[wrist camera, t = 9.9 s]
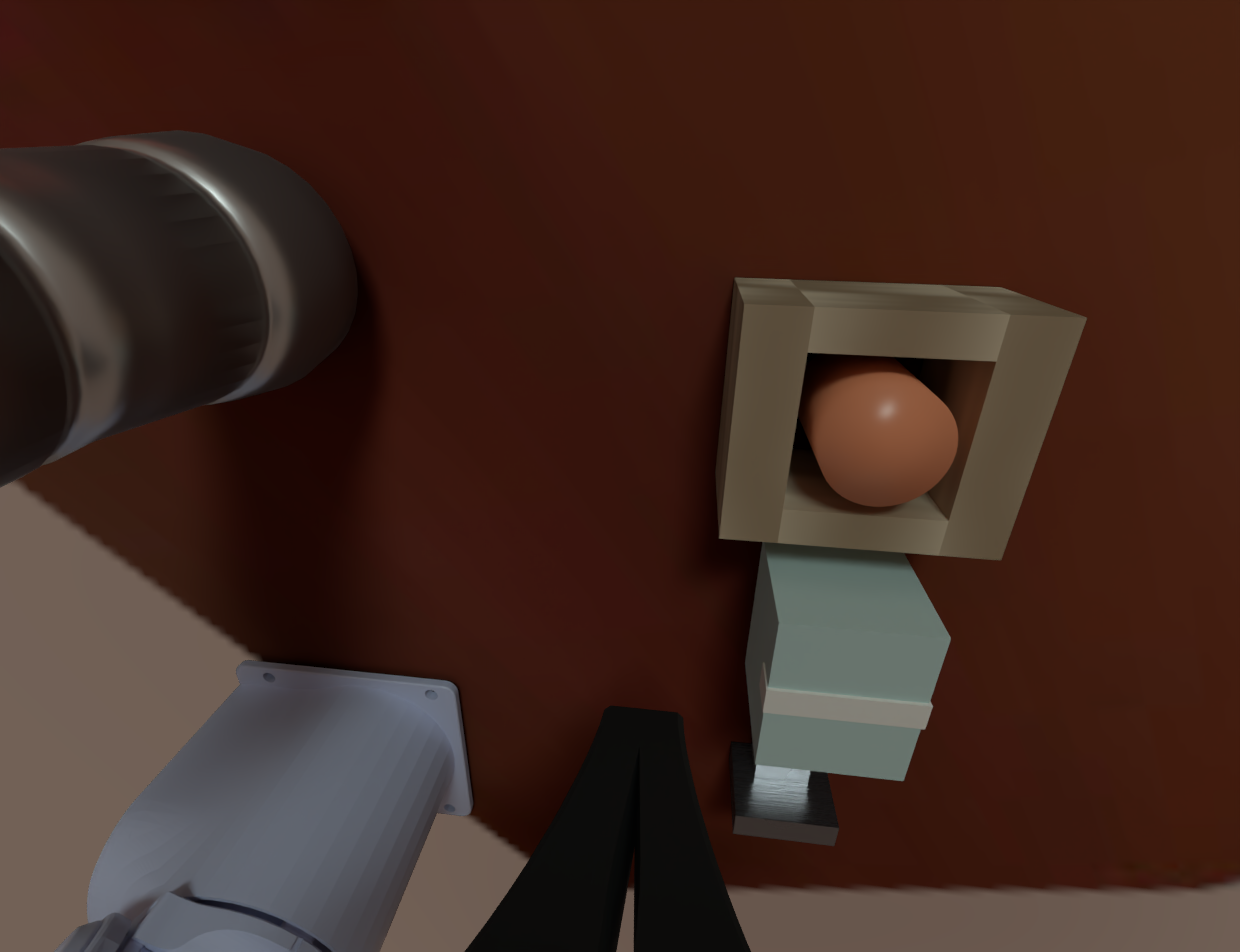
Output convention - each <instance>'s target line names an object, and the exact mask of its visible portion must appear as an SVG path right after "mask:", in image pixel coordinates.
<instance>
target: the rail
mask: <svg viewBox="0 0 1240 952" xmlns="http://www.w3.org/2000/svg"><path fill="white" fill-rule="evenodd" d="M729 768H730V787H731V806H732V825H733V834H741V835H749V836H757V837H765V838H773V839H782V840H790V841H798V842H806V843H814V844H822V845H830V846H834V845H835V841H836V837H837V834H838V830H839V826H838V821H837V816H836V812H835V807H834V803H833V798H832V793H831V789H830V784H829V780H828V775H827V772H818V771H809V770H800V769H791V768H782V767H773V766H764V765H755V761H754V750H753V740H752V743H751V744H747V743H738V742H731V748H730V755H729Z"/></svg>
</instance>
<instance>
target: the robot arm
mask: <svg viewBox="0 0 1240 952" xmlns="http://www.w3.org/2000/svg"><path fill="white" fill-rule="evenodd" d="M236 674H237V677H238V680H239V683H240V685H239V686H238V687H237V688H236V689H235V690H234V692H233V693H232V694H231V695H230V696H229V697H228V698H227V699H226V701H224V703H223V704H222V705H221V706H220V707H219V708H218V709H217V710H216V711H215V713H214V714H213V715H212V716H211V717H210V718H209V719H208V720H207V722H206V723H205V724H204V725H203V726H202V727H201V728H200V729H199V730H198V731H197V732H196V733H195V734H194V736H193V737H192V738H191V739H190V740H189V741H188V742H187V743H186V745H185V746H184V747H183V748H182V749H181V750H180V751H179V752H178V753H177V754H176V756H175V757H174V758H173V759H172V760H171V761H170V762H169V763H168V764H167V766H165V768H164V769H163V770H162V771H161V772H160V773H159V774H158V775H157V776H156V777H155V779H154V780H153V781H152V782H151V783H150V784H149V785H148V786H147V787H146V788H145V790H144V791H143V792H142V793H141V794H140V795H139V796H138V797H137V798H136V799H135V801H134V802H133V803H132V804H131V806H130V807H129V808H128V809H127V811H126V812H125V813H124V815H123V816H122V818H121V819H120V821H119V822H118V824H117V825H116V827H115V828H114V830H113V832H112V833H111V835H110V837H109V839H108V841H107V842H106V844H105V847H104V848H103V850H102V852H101V855H100V857H99V859H98V862H97V864H96V866H95V869H94V871H93V874H92V878H91V881H90V885H89V890H88V899H87V916H88V924H86V925H83V926H80V927H78V928H77V929H75V930H74V931H73V932H72V933H71V934H70V935H69V936H68V937H67V938H66V939H65V940H64V941H63V942H62V943H61V944H60V946H59V947H58V948H57V949H56V950H55V951H54V952H380V949H381V947H382V945H383V942H384V940H385V937H386V935H387V933H388V930H389V928H390V925H391V923H392V921H393V918H394V916H395V913H396V911H397V908H398V906H399V903H400V901H401V899H402V896H403V894H404V891H405V889H406V886H407V884H408V882H409V879H410V877H411V875H412V872H413V870H414V867H415V865H416V862H417V860H418V857H419V855H420V852H421V850H422V848H423V845H424V843H425V841H426V838H427V836H428V833H429V831H430V829H431V826H432V823H433V821H434V819H435V816H436V814H437V813H441V814H449V815H457V816H466V815H469V814H470V813H471V810H472V807H473V798H472V790H471V783H470V775H469V768H468V760H467V753H466V745H465V738H464V730H463V723H462V715H461V708H460V700H459V693H458V689H457V687H456V686H455V685H454V684H453V683H451V682H449V681H445V680H435V679H426V678H416V677H406V676H397V675H387V674H377V673H368V672H358V671H348V670H339V669H329V668H319V667H310V666H300V665H290V664H281V663H271V662H262V661H252V660H245V661H243V662H242V663H241V664H240V665H239V666H238V667H237V669H236ZM431 690H432V691H431ZM433 691H434V692H433ZM634 847H635V871H634V952H751V951H750V948H749V946H748V944H747V941H746V939H745V937H744V934H743V932H742V929H741V927H740V924H739V922H738V919H737V917H736V914H735V911H734V909H733V906H732V903H731V901H730V898H729V895H728V893H727V890H726V887H725V884H724V881H723V878H722V876H721V873H720V870H719V867H718V864H717V861H716V858H715V855H714V852H713V849H712V846H711V843H710V840H709V837H708V833H707V830H706V827H705V823H704V820H703V816H702V813H701V810H700V806H699V803H698V799H697V795H696V791H695V787H694V783H693V779H692V774H691V770H690V765H689V760H688V755H687V750H686V743H685V736H684V726H683V717H682V716H680V715H679V714H678V713H676V712H667V711H657V710H648V709H638V708H629V707H619V706H609V707H608V708H606V709H605V710H604V713H603V716H602V719H601V722H600V725H599V728H598V730H597V733H596V736H595V738H594V741H593V743H592V745H591V747H590V750H589V752H588V754H587V756H586V758H585V760H584V763H583V765H582V767H581V769H580V771H579V773H578V775H577V777H576V779H575V781H574V783H573V784H572V786H571V788H570V790H569V792H568V794H567V796H566V798H565V800H564V801H563V803H562V805H561V807H560V809H559V811H558V813H557V814H556V816H555V818H554V820H553V821H552V823H551V825H550V826H549V828H548V830H547V831H546V833H545V834H544V836H543V838H542V839H541V841H540V843H539V844H538V846H537V848H536V849H535V851H534V853H533V854H532V856H531V858H530V859H529V861H528V862H527V864H526V866H525V867H524V869H523V870H522V872H521V873H520V875H519V876H518V878H517V879H516V881H515V882H514V884H513V885H512V887H511V888H510V890H509V891H508V893H507V894H506V896H505V897H504V898H503V900H502V901H501V903H500V905H499V906H498V907H497V908H496V910H495V911H494V913H493V914H492V916H491V917H490V918H489V920H488V921H487V923H486V924H485V925H484V927H483V928H482V929H481V931H480V932H479V933H478V935H477V936H476V937H475V939H474V940H473V941H472V943H471V944H470V945H469V947H468V948H467V949H466V950H465V952H616V950H617V944H618V938H619V932H620V927H621V921H622V916H623V910H624V904H625V899H626V893H627V887H628V881H629V876H630V870H631V864H632V859H633V853H634Z"/></svg>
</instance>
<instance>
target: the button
mask: <svg viewBox="0 0 1240 952" xmlns="http://www.w3.org/2000/svg"><path fill="white" fill-rule="evenodd" d="M798 417H799V419H800V422H801V424H802V426H803V429H804V431H805V433H806V436H807V438H808V440H809V443H810V445H811V447H812V450H813V452H814V455H815V457H816V459H817V462H818V464H819V466H820V469H821V471H822V473H823V476H824V477H825V479H826V481H827V482H828V484H829V485H830V486H831V487H832V488H833V489H834V490H835V491H836V492H837V493H838V494H839V495H841V496H842V497H844V498H846V499H847V500H849V501H852V502H854V503H857V504H861V505H865V506H872V507H886V506H893V505H898V504H902V503H905V502H908V501H911V500H913V499H915V498H917V497H919V496H921V495H923V494H925V493H926V492H927V491H929V490H930V489H932V488H933V487H934V486H935V485H936V484H937V483H938V482H939V481H940V480H941V479H942V478H943V477H944V476H945V474H946V473H947V471H948V470H949V468H950V466H951V464H952V463H953V460H954V458H955V455H956V452H957V447H958V429H957V425H956V421H955V419H954V417H953V414H952V413H951V411H950V410H949V408H948V407H947V406H946V405H945V404H944V403H943V402H942V401H941V400H940V399H939V398H938V397H937V396H936V395H935V394H934V393H933V392H931V391H930V390H929V389H928V388H927V387H926V386H925V385H924V384H923V383H922V382H920V381H919V380H918V379H917V378H916V377H915V376H914V375H913V374H912V373H910V372H909V371H908V370H907V369H906V368H905V367H904V366H903V365H902V364H901V363H899V362H898V361H897V360H896V359H895V358H894V357H889V356H868V355H847V354H826V353H819V354H817V355H816V356H815V357H814V358H813V359H812V360H810V362H809V363H808V364H807V365H806V366H805V372H804V378H803V385H802V391H801V397H800V404H799V410H798Z"/></svg>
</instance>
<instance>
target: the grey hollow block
mask: <svg viewBox="0 0 1240 952" xmlns="http://www.w3.org/2000/svg"><path fill="white" fill-rule="evenodd" d="M1086 319H1087V318H1086V317H1083V316H1081V315H1078V314H1075V313H1072V312H1069V311H1066V310H1064V309H1061V308H1058V307H1055V306H1052V305H1049V304H1047V303H1044V302H1041V301H1038V300H1035V299H1033V298H1030V297H1027V296H1024V295H1021V294H1018V293H1016V292H1013V291H1010V290H1007V289H1004V288H1001V287H980V286H952V285H924V284H897V283H869V282H841V281H814V280H786V279H758V278H734V288H733V298H732V308H731V318H730V328H729V338H728V349H727V359H726V369H725V379H724V389H723V400H722V410H721V420H720V430H719V440H718V450H717V461H716V471H715V476H716V493H717V510H718V527H719V539H731V540H744V541H757V542H770V543H783V544H796V545H809V546H822V547H835V548H848V549H861V550H874V551H887V552H900V553H913V554H926V555H939V556H952V557H965V558H978V559H991V560H1001V559H1002V556H1003V553H1004V550H1005V548H1006V545H1007V542H1008V539H1009V536H1010V533H1011V531H1012V528H1013V525H1014V522H1015V519H1016V517H1017V514H1018V511H1019V508H1020V505H1021V502H1022V500H1023V497H1024V494H1025V491H1026V488H1027V486H1028V483H1029V480H1030V477H1031V474H1032V471H1033V469H1034V466H1035V463H1036V460H1037V457H1038V455H1039V452H1040V449H1041V446H1042V443H1043V440H1044V438H1045V435H1046V432H1047V429H1048V426H1049V424H1050V421H1051V418H1052V415H1053V412H1054V409H1055V407H1056V404H1057V401H1058V398H1059V395H1060V393H1061V390H1062V387H1063V384H1064V381H1065V378H1066V376H1067V373H1068V370H1069V367H1070V364H1071V362H1072V359H1073V356H1074V353H1075V350H1076V347H1077V345H1078V342H1079V339H1080V336H1081V333H1082V331H1083V328H1084V325H1085V322H1086ZM807 353H826V354H847V355H868V356H889V357H910V358H924V360H923V364H922V368H921V372H920V376H919V381H920V382H922V383H923V384H924V385H925V386H926V387H927V388H928V389H929V390H930V391H931V392H933V393H934V394H935V395H936V396H937V397H938V398H939V399H940V400H941V401H942V402H943V403H944V404H945V405H946V406H947V407H948V408H949V410H950V411H951V413H952V414H953V417H954V419H955V421H956V425H957V429H958V447H957V452H956V455H955V458H954V460H953V463H952V464H951V466H950V468H949V470H948V471H947V473H946V474H945V476H944V477H943V478H942V479H941V480H940V481H939V482H938V483H937V484H936V485H935V486H934V487H933V488H932V489H930V490H929V491H927V492H926V493H925V494H923V495H921V496H919V497H917V498H915V499H913V500H911V501H908V502H905V503H902V504H898V505H893V506H886V507H872V506H865V505H861V504H857V503H854V502H852V501H849V500H847V499H846V498H844V497H842V496H841V495H839V494H838V493H837V492H836V491H835V490H834V489H833V488H832V487H831V486H830V485H829V484H828V482H827V481H826V479H825V477H824V476H823V473H822V471H821V469H820V466H819V464H818V462H817V459H816V457H815V455H814V452H813V450H808V449H792V448H793V442H794V436H795V429H796V423H797V417H798V410H799V404H800V397H801V391H802V385H803V378H804V372H805V366H806V359H807Z"/></svg>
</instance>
